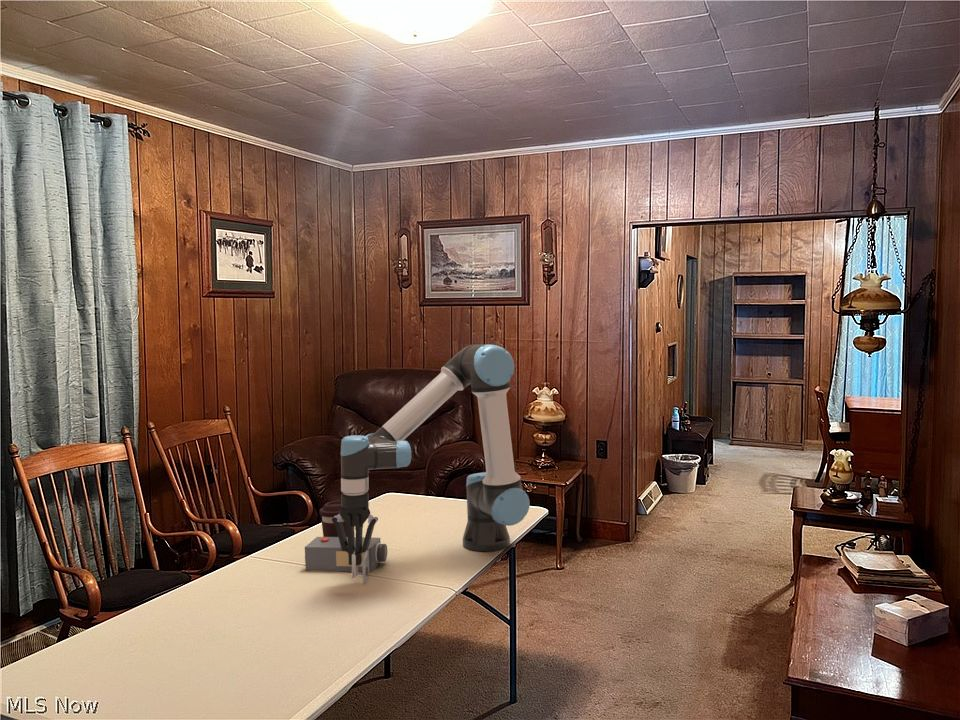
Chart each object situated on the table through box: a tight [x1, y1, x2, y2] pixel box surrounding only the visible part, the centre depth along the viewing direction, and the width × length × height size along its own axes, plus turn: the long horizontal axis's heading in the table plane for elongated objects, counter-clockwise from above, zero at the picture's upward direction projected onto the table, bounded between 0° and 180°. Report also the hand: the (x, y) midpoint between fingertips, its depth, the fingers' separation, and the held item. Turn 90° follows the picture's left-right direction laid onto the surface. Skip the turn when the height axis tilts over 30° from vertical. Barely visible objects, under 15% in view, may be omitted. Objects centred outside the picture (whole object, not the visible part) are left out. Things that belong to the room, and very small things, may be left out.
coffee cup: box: [319, 500, 348, 537], centre depth 229 cm, size 10×10×15 cm
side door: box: [362, 550, 370, 584], centre depth 202 cm, size 10×1×6 cm, turn 3°
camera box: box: [304, 536, 388, 573], centre depth 213 cm, size 22×11×8 cm, turn 82°
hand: (355, 576), depth 199 cm, fingers closed
